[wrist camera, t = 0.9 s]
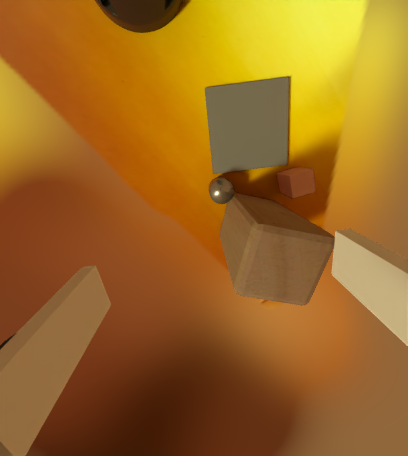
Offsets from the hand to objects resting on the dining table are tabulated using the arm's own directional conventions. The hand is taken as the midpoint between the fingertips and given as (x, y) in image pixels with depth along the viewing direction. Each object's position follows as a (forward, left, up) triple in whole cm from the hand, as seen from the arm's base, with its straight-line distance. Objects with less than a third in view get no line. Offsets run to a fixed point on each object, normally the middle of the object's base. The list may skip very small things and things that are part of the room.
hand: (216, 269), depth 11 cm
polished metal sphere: (0, +3, -31) cm, 31 cm away
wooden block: (+7, +8, -31) cm, 33 cm away
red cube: (0, +17, -31) cm, 35 cm away
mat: (-10, +9, -31) cm, 33 cm away
